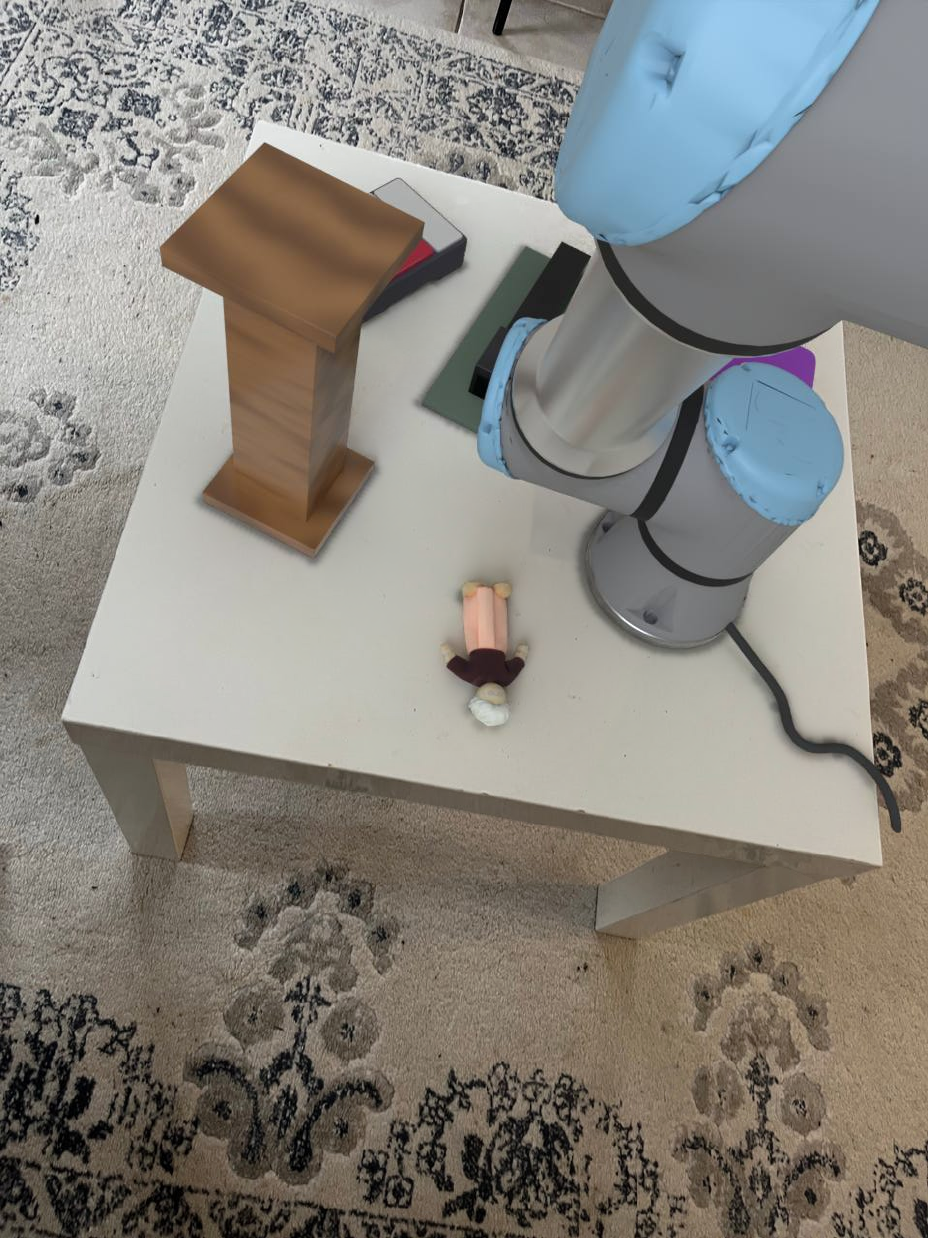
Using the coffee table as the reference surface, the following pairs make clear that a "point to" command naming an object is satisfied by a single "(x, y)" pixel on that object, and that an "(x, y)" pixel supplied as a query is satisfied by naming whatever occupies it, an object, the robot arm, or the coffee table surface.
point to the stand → (291, 333)
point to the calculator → (419, 246)
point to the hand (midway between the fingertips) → (700, 50)
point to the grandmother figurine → (486, 651)
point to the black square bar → (536, 306)
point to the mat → (483, 343)
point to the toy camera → (783, 363)
